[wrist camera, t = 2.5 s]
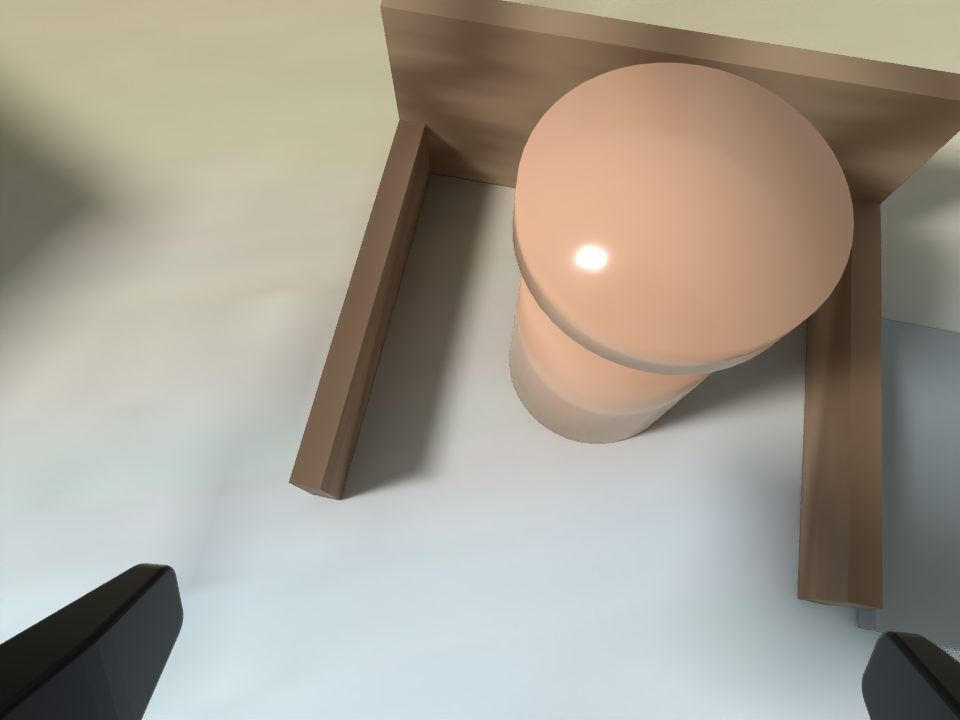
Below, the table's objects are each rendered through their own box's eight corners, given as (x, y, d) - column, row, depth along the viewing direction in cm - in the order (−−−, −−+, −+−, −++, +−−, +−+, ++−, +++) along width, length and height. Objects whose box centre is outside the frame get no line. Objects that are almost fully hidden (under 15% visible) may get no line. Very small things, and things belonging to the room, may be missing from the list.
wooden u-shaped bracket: (835, 224, 26) (985, 78, 18) (827, 604, 21) (1026, 622, 13) (413, 149, 27) (388, -18, 19) (313, 494, 22) (227, 452, 14)
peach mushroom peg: (695, 294, 25) (855, 91, 14) (677, 472, 22) (852, 384, 12) (517, 261, 25) (546, 40, 15) (481, 432, 23) (486, 313, 12)
